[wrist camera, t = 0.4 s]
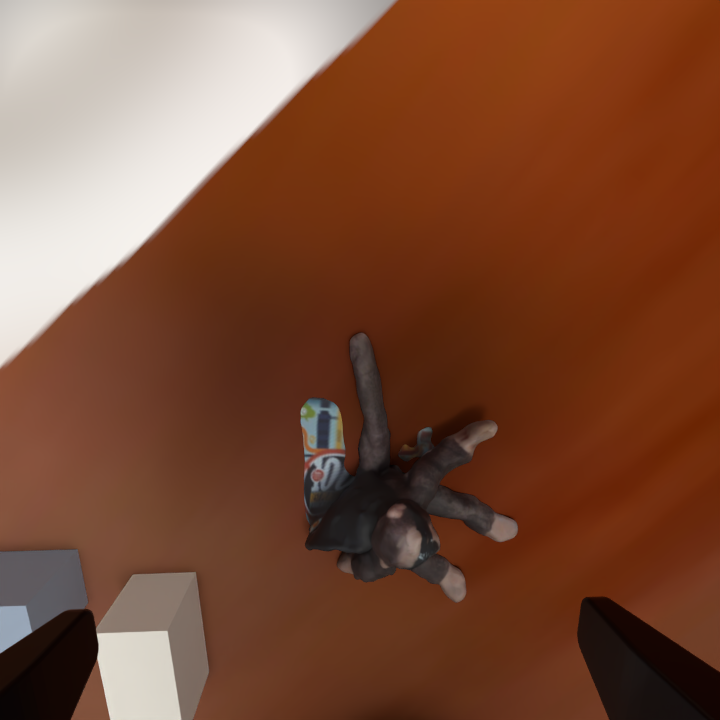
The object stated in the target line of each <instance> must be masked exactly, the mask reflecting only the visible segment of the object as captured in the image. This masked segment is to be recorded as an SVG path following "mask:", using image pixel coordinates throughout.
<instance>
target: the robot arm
mask: <svg viewBox="0 0 720 720" xmlns="http://www.w3.org/2000/svg"><path fill="white" fill-rule="evenodd" d="M577 636H578V643H579V647H580V649H581V652H582V654H583V657H584V659H585V662H586V664H587V666H588V669H589V671H590V674H591V676H592V679H593V681H594V683H595V686H596V688H597V691H598V693H599V696H600V698H601V700H602V703H603V705H604V708H605V710H606V713H607V715H608V717H609V720H720V672H719V671H717V670H716V669H714V668H713V667H711V666H710V665H708V664H707V663H705V662H704V661H702V660H701V659H699V658H698V657H696V656H695V655H693V654H692V653H690V652H689V651H687V650H686V649H684V648H683V647H681V646H680V645H678V644H677V643H675V642H674V641H672V640H671V639H669V638H668V637H666V636H665V635H663V634H662V633H660V632H659V631H657V630H656V629H654V628H653V627H651V626H650V625H648V624H647V623H645V622H644V621H642V620H641V619H639V618H638V617H636V616H635V615H633V614H632V613H630V612H629V611H627V610H626V609H624V608H623V607H621V606H620V605H618V604H617V603H615V602H614V601H612V600H611V599H609V598H607V597H586V598H584V599H583V600H582V603H581V609H580V616H579V624H578V631H577ZM98 651H99V643H98V638H97V632H96V626H95V621H94V616H93V613H92V611H91V610H88V609H70V610H66V611H64V612H62V613H60V614H59V615H57V616H56V617H54V618H53V619H51V620H50V621H48V622H47V623H45V624H44V625H42V626H41V627H39V628H38V629H36V630H35V631H33V632H32V633H30V634H29V635H27V636H26V637H24V638H23V639H21V640H20V641H18V642H16V643H15V644H13V645H12V646H10V647H9V648H7V649H6V650H4V651H3V652H1V653H0V720H71V718H72V715H73V713H74V711H75V708H76V706H77V704H78V702H79V699H80V697H81V695H82V692H83V690H84V688H85V685H86V683H87V681H88V679H89V676H90V674H91V672H92V669H93V667H94V665H95V662H96V660H97V656H98Z"/></svg>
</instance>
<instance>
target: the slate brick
mask: <svg viewBox="0 0 720 720" xmlns="http://www.w3.org/2000/svg"><path fill="white" fill-rule="evenodd" d="M87 604H88V599H87V594H86V589H85V584H84V579H83V574H82V569H81V564H80V559H79V554H78V549H76V550H42V551H7V552H0V653H1V652H3V651H4V650H6V649H7V648H9V647H10V646H12V645H13V644H15V643H16V642H18V641H20V640H21V639H23V638H24V637H26V636H27V635H29V634H30V633H32V632H33V631H35V630H36V629H38V628H39V627H41V626H42V625H44V624H45V623H47V622H48V621H50V620H51V619H53V618H54V617H56V616H57V615H59V614H60V613H62V612H64V611H66V610H70V609H84V608H85V606H86V605H87Z"/></svg>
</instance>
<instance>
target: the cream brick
mask: <svg viewBox="0 0 720 720" xmlns="http://www.w3.org/2000/svg"><path fill="white" fill-rule="evenodd" d="M96 632H97V638H98V643H99V651H98V656H97V658H98V662H99V667H100V672H101V677H102V682H103V686H104V691H105V696H106V701H107V706H108V710H109V715H110V720H193V718H194V715H195V712H196V709H197V706H198V703H199V700H200V697H201V694H202V691H203V688H204V685H205V682H206V679H207V676H208V674H209V667H208V659H207V652H206V644H205V637H204V629H203V622H202V614H201V607H200V599H199V592H198V584H197V577H196V572H185V573H158V574H133V575H132V576H131V578H130V579H129V581H128V582H127V584H126V585H125V587H124V588H123V590H122V591H121V593H120V594H119V595H118V597H117V598H116V600H115V601H114V603H113V604H112V606H111V607H110V609H109V610H108V612H107V613H106V615H105V616H104V618H103V619H102V620H101V622H100V623H99V625H98V626H97V628H96Z"/></svg>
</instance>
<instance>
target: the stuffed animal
mask: <svg viewBox="0 0 720 720" xmlns="http://www.w3.org/2000/svg"><path fill="white" fill-rule="evenodd" d="M350 359H351V361H352V364H353V370H354V375H355V378H356V385H357V394H358V397H359V401H360V406H361V410H362V412H363V415H364V424H363V429H362V433H361V438H360V441H359V447H358V451H359V457H360V458H359V462H360V464H359V467H358V469H357V473H356V476H352V475H350V474H349V473H348V472H347V471H346V469H345V467H344V460H345V445H344V440H343V425H342V418H341V413H340V410H339V408H338V407H337V406H336V405H335V404H334V403H333V402H331V401H328V400H326V399H324V398H314V397H313V398H310V399H309V400H308V401H307V402H306V403H305V404H304V406H303V407H302V409H301V426H302V433H303V443H304V455H305V467H304V499H305V510H306V516H307V520H308V522H309V524H310V528H309V531H310V532H309V535H308V538H307V540H306V543H305V546H306V548H307V549H308V550H312V549H318V550H323V551H332V550H340V551H342V552H341V555H340V558H339V560H338V562H337V567H338V568H339V569H340V570H341V571H343V572H346V573H351V574H353V575H354V578H355V579H361V580H362V581H363V582H373V581H376V580H377V579H380V578H383V577H386V576H388V575H393V574H394V573H395V571H396V567H397V568H399V569H407V570H411V571H413V572H415V573H416V574H417V575H419V576H420V577H422V578H425V579H426V580H427V581H428V582H430V583H432V584H439V585H440V586H441V588H442V590H443V591H444V593H445V594H446V596H447V597H448V598H450V599H451V600H453V601H454V602H456V603H457V602H460V601H461V600H463V599H464V597H465V595H466V583H465V578H464V575H463V573H462V572H461V571H460V570H459V569H458V568H456V567H454V566H453V565H451V564H450V563H449V562H448V560H447V559H446V558H444V557H442V556H440V555H438V554H436V553H437V552H438V551H439V550H440V540H439V537H438V534H437V532H436V530H435V529H434V527H433V525H432V522H431V519H430V516H429V514H431V515H435V516H439V517H446V518H450V519H460V520H463V522H464V523H465V524H466V525H467V526H468V527H469V528H471V529H472V530H474V531H476V532H477V533H479V534H482V535H484V536H488V537H490V538H491V539H493V540H494V541H497V542H503V541H506V540H509V539H512V538H513V537H515V536H516V534H517V532H518V526H517V523H516V522H515V521H514V520H513V519H511V518H508V517H506V516H504V515H500V514H497V513H495V512H494V511H493V510H492V509H491V508H490V507H489V506H488V505H486V504H484V503H482V502H480V501H479V500H478V499H477V498H476V497H475V496H473V495H469V494H464V493H457V492H454V491H452V490H450V489H449V488H447V487H445V486H442V485H439V484H440V481H441V480H442V479H443V477H444V476H445V475H446V474H447V473H448V472H450V471H451V470H453V469H454V468H456V467H458V466H460V465H463V464H466V463H468V462H470V461H471V460H472V457H473V452H474V449H475V447H476V446H477V445H478V444H479V443H480V442H482V441H484V440H487V439H489V438H492V437H493V436H494V435H495V433H496V432H497V428H498V427H497V425H496V423H495V422H494V421H491V420H484V421H477V422H474V423H471V424H469V425H467V426H466V427H465V428H463V429H462V430H460V431H459V432H458V433H456V434H453V435H451V436H448V437H446V438H445V439H443V440H442V441H441V442H440V443H439V444H438V445H437V446H436V447H434V445H433V444H432V443H431V436H432V429H431V428H430V427H427V428H425V429H423V430H421V431H419V433H418V435H417V445H416V446H415V447H413V448H411V447H409V446H408V445H403V446H402V448H401V450H400V452H399V453H398V456H399V457H400V458H401V459H402V460H404V461H406V462H407V461H409V460H410V459H412V458H414V457H418V458H419V459H418V460H417V461H416V462H415V463H414V464H413V466H412V468H411V469H410V470H409V471H408V472H407V473H406V474H405V473H403V472H402V471H401V469H400V468H399V467H398V466H397V465H390V431H389V430H388V428H387V415H386V411H385V408H384V404H383V396H382V386H381V379H380V374H379V371H378V368H377V365H376V361H375V356H374V352H373V348H372V345H371V342H370V340H369V338H368V337H367V336H366V335H365V334H364V333H358V334H356V335H354V336H353V337H352V338H351V340H350Z"/></svg>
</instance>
